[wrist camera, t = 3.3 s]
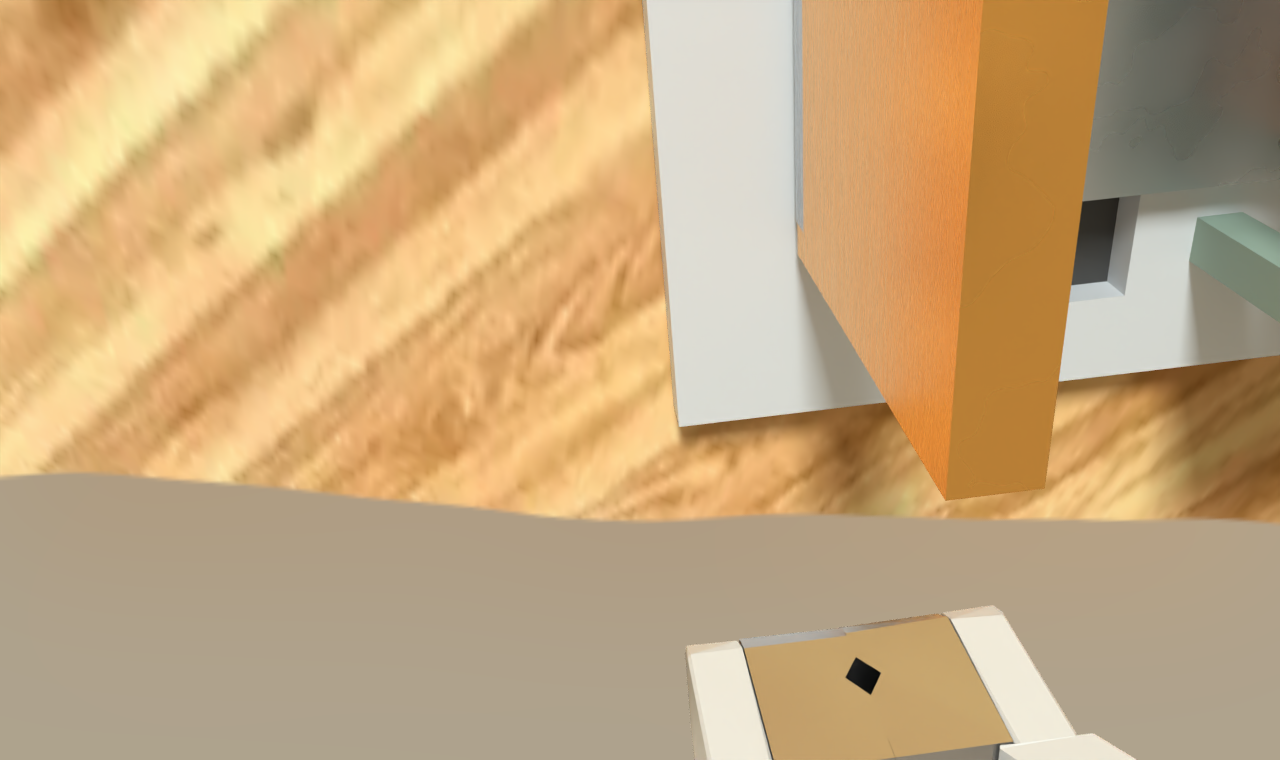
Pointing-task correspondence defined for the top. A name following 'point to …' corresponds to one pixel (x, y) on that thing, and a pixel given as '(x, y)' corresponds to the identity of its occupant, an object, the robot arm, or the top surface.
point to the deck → (784, 290)
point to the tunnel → (1240, 257)
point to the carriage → (1002, 186)
